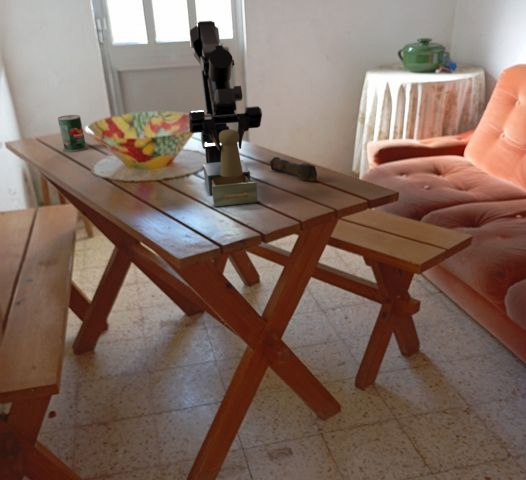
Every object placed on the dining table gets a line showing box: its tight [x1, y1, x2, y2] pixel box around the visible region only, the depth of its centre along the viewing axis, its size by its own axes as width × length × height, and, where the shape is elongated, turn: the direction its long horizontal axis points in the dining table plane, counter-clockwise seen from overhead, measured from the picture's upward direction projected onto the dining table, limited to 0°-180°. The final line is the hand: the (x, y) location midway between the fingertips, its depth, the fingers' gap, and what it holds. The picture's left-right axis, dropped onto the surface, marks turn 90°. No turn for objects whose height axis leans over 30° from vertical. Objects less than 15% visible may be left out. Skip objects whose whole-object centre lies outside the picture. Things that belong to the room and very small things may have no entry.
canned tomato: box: [57, 114, 87, 152], centre depth 203 cm, size 8×8×11 cm
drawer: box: [211, 174, 258, 207], centre depth 149 cm, size 16×12×5 cm
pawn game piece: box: [219, 128, 243, 177], centre depth 145 cm, size 6×6×11 cm
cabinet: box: [202, 159, 251, 197], centre depth 159 cm, size 13×12×6 cm
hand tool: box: [269, 156, 318, 182], centre depth 165 cm, size 19×4×5 cm, turn 36°
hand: (230, 148), depth 144 cm, fingers closed on pawn game piece, 5 cm apart
